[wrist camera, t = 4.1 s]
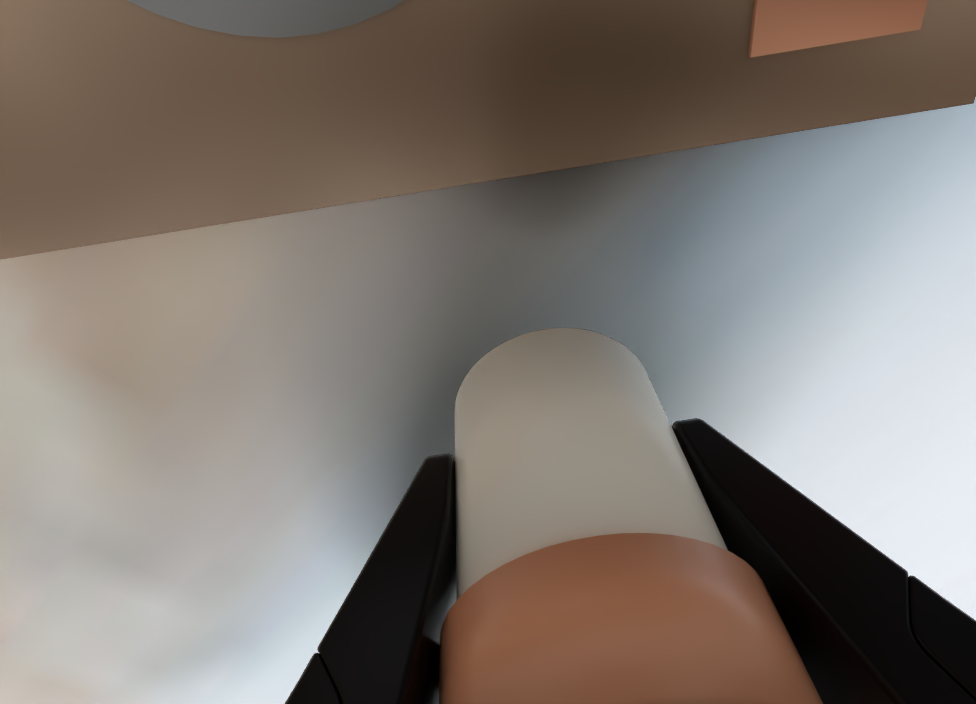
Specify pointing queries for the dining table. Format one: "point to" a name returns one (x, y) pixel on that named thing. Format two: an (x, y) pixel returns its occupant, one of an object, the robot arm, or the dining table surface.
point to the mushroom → (594, 546)
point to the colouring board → (417, 96)
